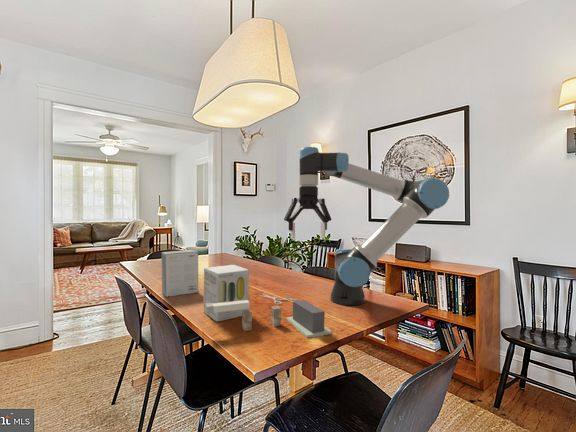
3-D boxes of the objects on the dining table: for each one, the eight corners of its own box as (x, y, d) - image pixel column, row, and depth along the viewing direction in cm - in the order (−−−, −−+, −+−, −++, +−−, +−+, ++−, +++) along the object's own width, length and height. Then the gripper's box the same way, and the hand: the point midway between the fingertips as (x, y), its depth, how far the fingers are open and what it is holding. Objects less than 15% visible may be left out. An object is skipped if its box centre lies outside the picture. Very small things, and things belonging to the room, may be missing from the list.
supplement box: (216, 322, 108) (216, 273, 108) (203, 312, 119) (203, 267, 119) (249, 315, 116) (249, 269, 116) (233, 305, 127) (234, 264, 126)
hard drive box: (194, 289, 153) (194, 249, 152) (198, 292, 146) (199, 251, 146) (161, 293, 144) (161, 251, 144) (164, 297, 138) (164, 253, 137)
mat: (308, 316, 115) (308, 314, 115) (331, 333, 99) (331, 331, 99) (286, 319, 111) (286, 317, 111) (306, 337, 96) (306, 335, 96)
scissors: (281, 304, 128) (249, 295, 141) (281, 306, 128) (249, 296, 141) (297, 299, 136) (266, 290, 149) (297, 301, 136) (266, 292, 149)
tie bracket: (277, 322, 109) (278, 305, 108) (280, 325, 106) (281, 308, 106) (242, 327, 104) (242, 310, 104) (244, 330, 101) (244, 312, 101)
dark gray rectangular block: (303, 317, 112) (303, 299, 112) (324, 331, 99) (324, 311, 99) (292, 319, 110) (292, 301, 110) (312, 333, 97) (312, 313, 97)
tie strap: (247, 306, 104) (247, 299, 104) (249, 309, 101) (250, 302, 101) (205, 310, 99) (205, 303, 99) (206, 314, 96) (206, 306, 96)
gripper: (330, 187, 131) (330, 236, 132) (276, 185, 122) (276, 238, 122) (340, 186, 124) (339, 238, 125) (283, 184, 115) (282, 240, 115)
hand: (308, 238), depth 123 cm, fingers open, 13 cm apart
